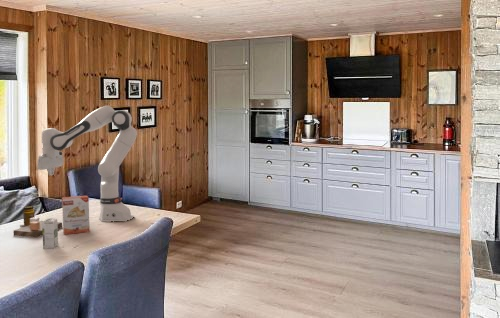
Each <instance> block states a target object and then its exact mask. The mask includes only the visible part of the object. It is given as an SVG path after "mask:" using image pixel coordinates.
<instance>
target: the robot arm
mask: <svg viewBox="0 0 500 318" xmlns="http://www.w3.org/2000/svg"><path fill="white" fill-rule="evenodd" d="M133 119H134V118H133V116H132V114H131V113H130V112H129V111H127V110H121V109H120V110H115V109H114V108H113V107H112V106H111V105H104V106H101V107H99V108H97V109H95V110H94V111H92V112H90V113H89V114H88V115H86V116H85V117H84V118H83V119H82V120H81V121H80V122H78V123H77V124H76V125H74V126H73V127H71V128H69V129H68V130H66V131H64V132H63V131H60V130H58V129H56V128H55V127H50V128H44V129H43V130H42V132H41V143H42V148H41V150H42V151H41V152H42V154H40V155H39V156H38V159H37V164H36V165H37V166H36V167H37V170H39V171H40V170H41V171H42V170H46V171H47V174H48V176H54V175H55V170H56V168H58V167H59V168H60V167H63V166H64V152H63V150H65V149H68V148H69V147H71V146H72V145H73V143H74V140H75V139H77V138H78V137H79V136H81V135H83V134H86V133H90V132H94V131H97V130H99V129H101V128H103V127H105V126H106V125H108V124H110V123H113V125H114V126H115V128H117V129H118V130H119V133H118V135H117V136H116V137H115V139H114V141H113V142H112V144H111V146H110V147H109V149H108V151H107V152H106V154H105V155H104V156H103V158H102V159H101V161H100V162H99V164H98V167H97V172H98V174H99V175H100V176H101V177H100V178H101V179H100V198H99V203H100V211H99V217H98V219H99V220H100V221H101V222H103V223H104V222H109V223H110V222H111V221H113V222H112V223H115V222H114V221H125V222H128V221H127V220H129V221H131V220H130V219H132V218H133V217H134V218H135V215H132V214H131V212H132V211H131V209H130V208H129V206H127V205H125V204H124V203H123V202H122V200H123V197H120V194H119V181H120V180H119V176H120V166H121V164H122V163H123V161H124V159H125V158H126V157H127V155H128V153H129V151H130V150H131V148H132V146H133V145H134V143H135V141H136V139H137V137H138V131H137V129H136V128H135V127H133V126H132V123H133V121H134V120H133ZM134 218H133V219H134ZM133 219H132V220H133Z"/></svg>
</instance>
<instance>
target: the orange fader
mask: <svg viewBox="0 0 500 318" xmlns="http://www.w3.org/2000/svg"><path fill="white" fill-rule="evenodd" d="M38 229H40V222H31V223H30V230H38Z"/></svg>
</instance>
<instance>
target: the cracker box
mask: <svg viewBox="0 0 500 318" xmlns="http://www.w3.org/2000/svg"><path fill="white" fill-rule="evenodd" d="M89 200H90V198H89V196H88V195H77V196H63V197H61V201H62V202H61V205H62V206H61V207H62V210H61V211H62V230H63V232H62V233H63V235H72V234H81V233H88V232H89V233H90V230H91V229H90V228H91V227H90V204H89V203H90V201H89Z"/></svg>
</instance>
